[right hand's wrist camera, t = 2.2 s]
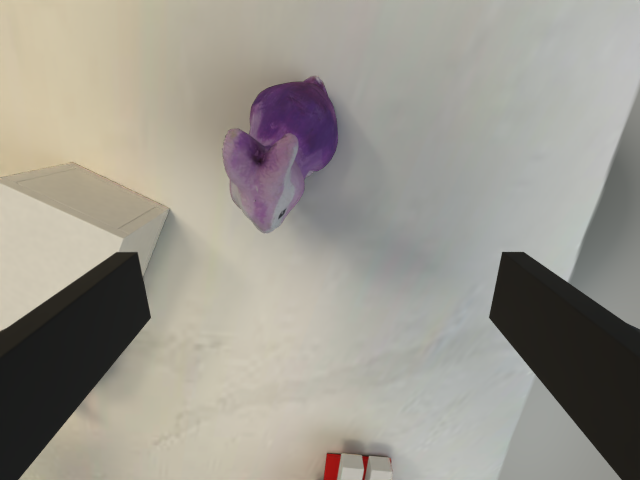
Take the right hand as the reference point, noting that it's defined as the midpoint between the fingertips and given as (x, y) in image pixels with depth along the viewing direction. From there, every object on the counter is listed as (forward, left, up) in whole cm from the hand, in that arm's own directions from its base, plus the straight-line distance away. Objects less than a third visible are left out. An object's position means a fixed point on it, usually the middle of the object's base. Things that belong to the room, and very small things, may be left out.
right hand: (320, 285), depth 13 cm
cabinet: (-4, -27, -24) cm, 37 cm away
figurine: (-4, -1, -24) cm, 24 cm away
